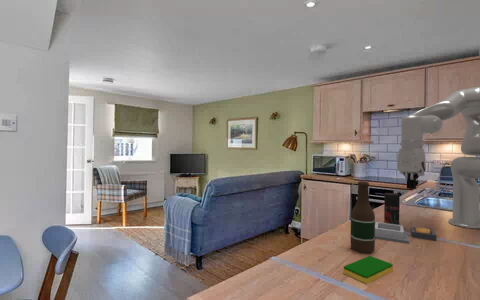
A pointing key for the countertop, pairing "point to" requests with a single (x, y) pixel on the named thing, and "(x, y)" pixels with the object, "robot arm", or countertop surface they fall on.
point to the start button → (422, 230)
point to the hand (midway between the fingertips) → (411, 188)
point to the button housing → (423, 234)
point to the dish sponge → (368, 269)
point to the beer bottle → (363, 222)
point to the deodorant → (391, 208)
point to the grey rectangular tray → (391, 232)
